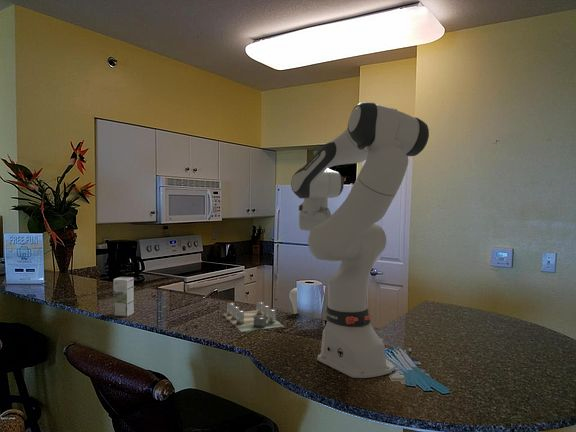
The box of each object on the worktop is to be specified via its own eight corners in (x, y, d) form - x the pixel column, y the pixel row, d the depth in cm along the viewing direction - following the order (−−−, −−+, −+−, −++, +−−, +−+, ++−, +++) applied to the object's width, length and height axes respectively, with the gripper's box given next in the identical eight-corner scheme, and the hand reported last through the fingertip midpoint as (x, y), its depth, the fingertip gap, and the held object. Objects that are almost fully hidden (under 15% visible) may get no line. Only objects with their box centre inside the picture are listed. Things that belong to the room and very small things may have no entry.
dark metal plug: (267, 327, 144) (267, 318, 144) (256, 328, 142) (256, 320, 142) (263, 323, 148) (263, 315, 148) (251, 325, 146) (251, 316, 146)
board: (284, 328, 145) (284, 326, 145) (241, 333, 139) (241, 331, 139) (260, 311, 167) (260, 309, 167) (222, 315, 160) (222, 313, 160)
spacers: (276, 323, 149) (276, 310, 149) (240, 327, 143) (240, 314, 143) (259, 311, 165) (259, 299, 165) (226, 314, 159) (226, 303, 159)
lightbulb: (298, 318, 157) (298, 290, 157) (285, 316, 161) (286, 288, 161) (307, 315, 162) (307, 287, 162) (295, 312, 166) (295, 285, 165)
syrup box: (134, 313, 163) (134, 276, 163) (127, 317, 157) (127, 279, 157) (120, 312, 164) (120, 276, 163) (112, 316, 158) (112, 279, 158)
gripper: (337, 207, 145) (336, 246, 145) (310, 206, 164) (310, 241, 164) (321, 207, 142) (321, 247, 143) (296, 206, 161) (296, 241, 162)
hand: (315, 243), depth 154 cm, fingers closed
